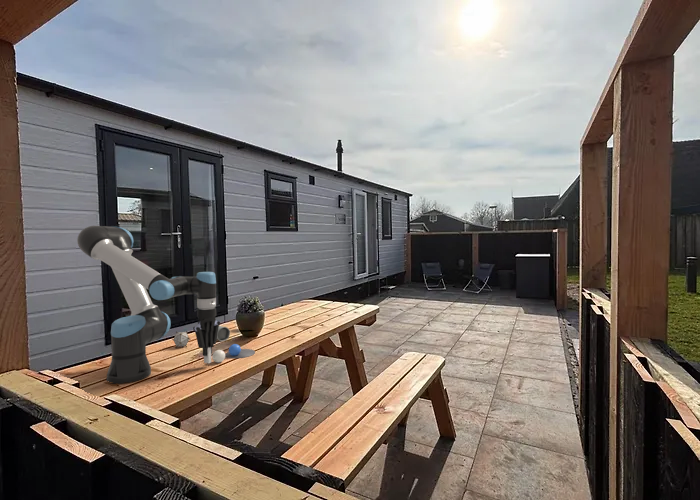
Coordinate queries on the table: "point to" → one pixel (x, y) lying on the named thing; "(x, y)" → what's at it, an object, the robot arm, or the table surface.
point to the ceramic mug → (223, 333)
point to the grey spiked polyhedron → (181, 339)
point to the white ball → (218, 356)
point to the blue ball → (234, 349)
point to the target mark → (241, 354)
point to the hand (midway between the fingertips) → (207, 362)
